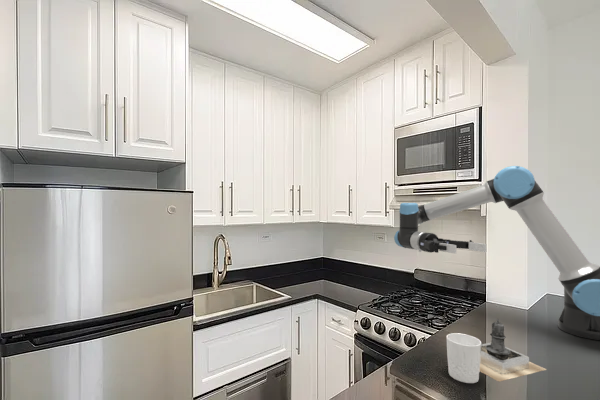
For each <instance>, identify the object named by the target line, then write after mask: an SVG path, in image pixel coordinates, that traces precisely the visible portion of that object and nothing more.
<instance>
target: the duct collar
mask: <svg viewBox="0 0 600 400" xmlns="http://www.w3.org/2000/svg"><path fill="white" fill-rule="evenodd" d="M487 345H491V342H487V343H481V360H480V363H481V364H483V365H485V366H487V367H489V368H491V369H493V370H494V371H496V372H498V373H500V374H502V375H503V374H508V373H512V372H516V371H520V370H524V369H528V368H529V362H530V357H529V356H528V355H525V354H524V353H521V352H518V351H516V350H514V349H511V348H509V347H507V346H505V348H507V349H508V350H509V351H510V354H509V357H508V359H506V360H500V359H497V358H495V357H493V356H491V355H489V354H488V352H487V349H486V346H487Z"/></svg>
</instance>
